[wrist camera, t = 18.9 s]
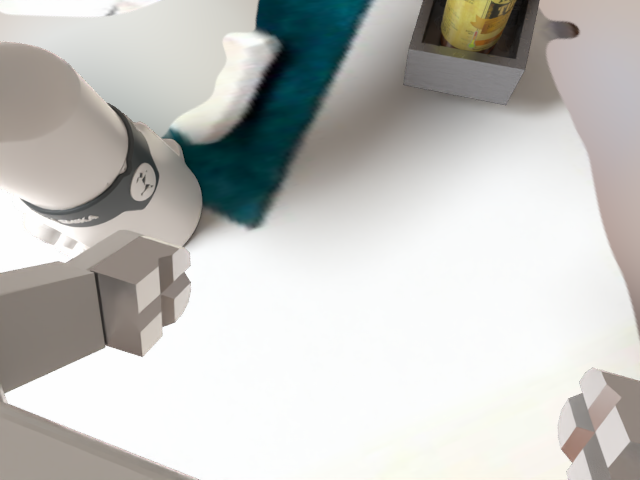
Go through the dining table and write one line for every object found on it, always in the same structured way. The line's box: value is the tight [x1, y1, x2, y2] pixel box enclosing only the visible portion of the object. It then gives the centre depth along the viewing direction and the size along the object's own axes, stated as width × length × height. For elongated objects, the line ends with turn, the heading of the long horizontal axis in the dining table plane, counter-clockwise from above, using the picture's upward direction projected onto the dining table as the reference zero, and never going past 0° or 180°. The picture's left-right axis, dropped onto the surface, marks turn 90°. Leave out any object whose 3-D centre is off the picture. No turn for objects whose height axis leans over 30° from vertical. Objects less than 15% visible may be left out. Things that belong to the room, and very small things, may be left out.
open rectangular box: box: [403, 0, 539, 105], centre depth 44 cm, size 11×12×6 cm
